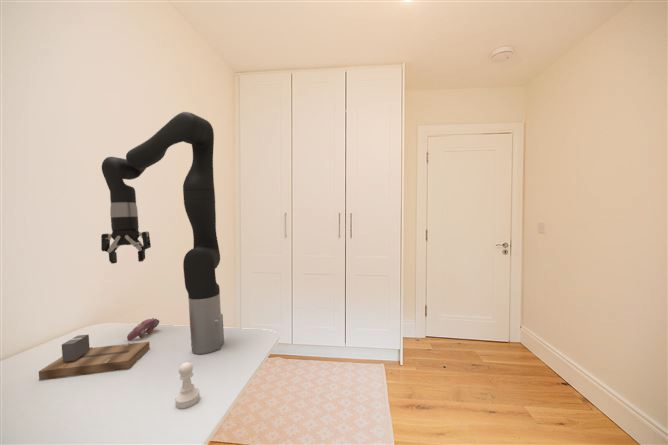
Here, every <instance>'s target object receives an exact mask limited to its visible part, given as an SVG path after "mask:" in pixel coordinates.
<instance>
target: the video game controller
mask: <svg viewBox="0 0 668 445" xmlns="http://www.w3.org/2000/svg"><path fill="white" fill-rule="evenodd" d="M159 325H160V320H159V319H157V318H154V317H152V318H147V319H145V320H143V321H142V322H141V323H138V324H137V325H136V326H135V327H134V328H133V329H132V331H130V332H129V333H128V334H127V336H126V340H127V341H133V340H135V339H136V338H137V337H139V338H144V337H145V335H147V334H148V335H149V334H151V333H153V331H154V329H156V328H157V327H158V326H159ZM146 333H147V334H146Z"/></svg>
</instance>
